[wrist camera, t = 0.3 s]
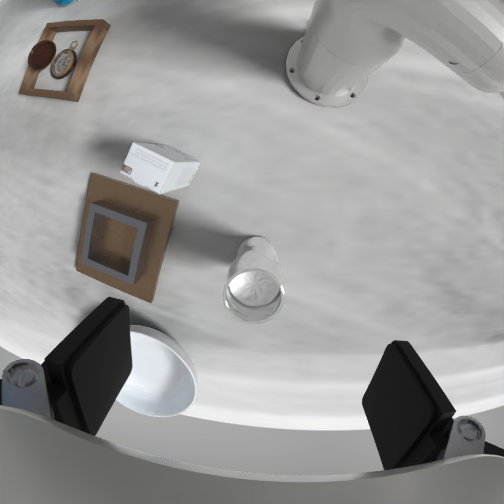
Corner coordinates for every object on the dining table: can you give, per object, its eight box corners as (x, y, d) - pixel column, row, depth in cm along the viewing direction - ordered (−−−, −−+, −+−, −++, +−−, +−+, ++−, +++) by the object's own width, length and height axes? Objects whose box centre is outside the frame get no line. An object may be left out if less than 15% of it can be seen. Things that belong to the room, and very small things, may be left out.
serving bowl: (201, 403, 55) (195, 426, 49) (112, 381, 55) (100, 401, 49) (206, 323, 49) (198, 345, 42) (100, 301, 49) (82, 318, 43)
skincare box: (201, 161, 41) (178, 160, 30) (188, 187, 43) (160, 196, 31) (167, 144, 41) (133, 138, 29) (154, 170, 42) (117, 173, 30)
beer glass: (234, 276, 46) (222, 324, 32) (234, 233, 44) (219, 266, 30) (279, 276, 46) (284, 326, 32) (280, 233, 44) (287, 267, 30)
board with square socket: (95, 173, 42) (82, 174, 38) (179, 200, 43) (171, 204, 39) (78, 268, 47) (67, 276, 43) (153, 300, 48) (144, 311, 44)
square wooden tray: (55, 27, 33) (47, 23, 30) (110, 25, 34) (102, 19, 31) (28, 95, 38) (18, 93, 35) (78, 101, 38) (68, 99, 36)
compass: (66, 83, 37) (42, 76, 30) (44, 72, 36) (21, 65, 29) (89, 46, 35) (67, 34, 28) (65, 37, 34) (44, 26, 27)
